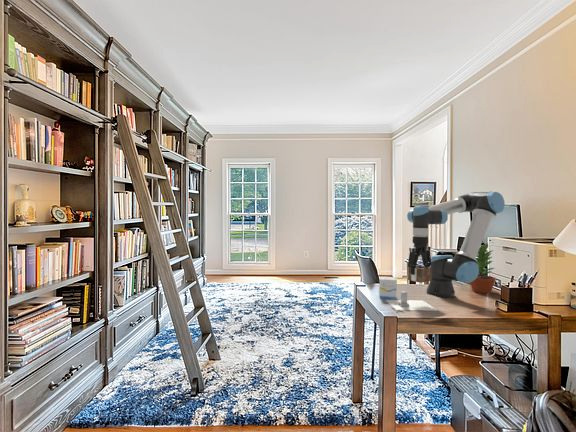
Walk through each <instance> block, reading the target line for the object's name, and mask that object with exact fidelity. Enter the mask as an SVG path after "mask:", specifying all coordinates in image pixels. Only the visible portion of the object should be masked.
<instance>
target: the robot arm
mask: <svg viewBox="0 0 576 432" xmlns="http://www.w3.org/2000/svg"><path fill="white" fill-rule="evenodd" d="M504 210H505V199H504V197H503V195H502V194H501V193H500V192H498V191H479V192H478V191H474V192H469V193H466V194H463V195H459V196H456V197H454V198H453V199H451V200H448V201H443V202H440V203H437V204H433V205H429V206H427V205H425V206H422V205H420V206H419V205H417V206H413V208H412V209H411V210H409V211H408V212H407V214H406V217H407V220H408V222H409V223H412V243H413V247H409V248H408V249H409V253H408V263H407V268H408V267H409V268H411V280H410V281H413V282H415V281H417V269H416V265H417V264H418V261H419V258H420V257H421V260H422V264H423V266H426V267H431V281H429V283H428V284H427V288H426V294H427V295H429V296H433V297H436V298H437V297H438V298H445V299H446V298H455V296H456V292H455V291H456V290H455V289H454V288H455V287H454V285H453V281H457V282H461V283H469V284H470V283H471V282H472V281H474V280H475V279H476V278H477V276H478V275H480V273H479V270H478V269H479V266H478V265H477V260H476V258H477V257H478V251H479V248H480V247H481V245H482V243H483V240H484V238H485V235H486V233H487V230H488V227H489V225H490V222H491V220H493V219H495V218H496V216H497V214H500V213H501V212H503V211H504ZM470 212H471V213H472V214H473V217H472V220H471V222H470V225H469V228H468V229H467V231H466V235H465V237H464V239H463V243H462V245H461V247H460V248H459V251H458V252H456V253H455V254H454V255H449V254H444V255H443V254H442V255H441V254H440V255H432V253H431V250H432V249H431V246H428V244H429V237H428V236H429V225H444V224H446V223H447V222H448V217H449V215H452V214H455V213H459V214H460V213H461V214H462V213H470ZM431 255H432V256H431ZM476 256H477V257H476Z"/></svg>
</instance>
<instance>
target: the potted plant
mask: <svg viewBox="0 0 576 432" xmlns="http://www.w3.org/2000/svg"><path fill="white" fill-rule="evenodd" d="M488 247H489V243H487V244H481V246H480V248H479V251H478V253H477V256H476V260H477V265H478V266H479V269H478V270H479V274H478V276H477V278H476V279H475V280H474V281H472V282H470V285H471V291H472V292H474V293H475V292H476V293H480V294H491V293H492V291H493V288H494V284H495V282H496V279H497V278H496V277H494V276H490V275H488V274H490V273H491V272H493V270H494V269H496V267H490V268H485V267H486V266H488V265H490V264H492V262H494V260H490V259H492V258H493V256H491V255H492V252H494V250H495V249H494V250H493V249H492V250H489V251H487V250H488ZM486 251H487V252H486Z"/></svg>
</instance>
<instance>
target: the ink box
mask: <svg viewBox="0 0 576 432" xmlns="http://www.w3.org/2000/svg"><path fill="white" fill-rule="evenodd" d="M397 283H398V280H397V278H396V277H393V276H392V277H391V276H380V277H379V290H378V292H379V293H378V294H379V295H378V297H379V298H380V299H381V300H397V291H398V290H397V286H398V285H397Z"/></svg>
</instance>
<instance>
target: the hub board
mask: <svg viewBox="0 0 576 432" xmlns="http://www.w3.org/2000/svg"><path fill="white" fill-rule="evenodd" d="M385 301H386V302H387V303H388V304H389V305H390V306H392V307H391V309H392V310H393V311H394V312H395V313H404V311H436V312H437V311H438V309H436V308H435V307H434V306H432V305H430V304H429V303H427V302H426V301H425V300H418V299H417V300H416V299H415V300H412V299H411V300H410V299H409V300H408V292H407V291H401V292H400V299H396V300H392V299H385Z"/></svg>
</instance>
